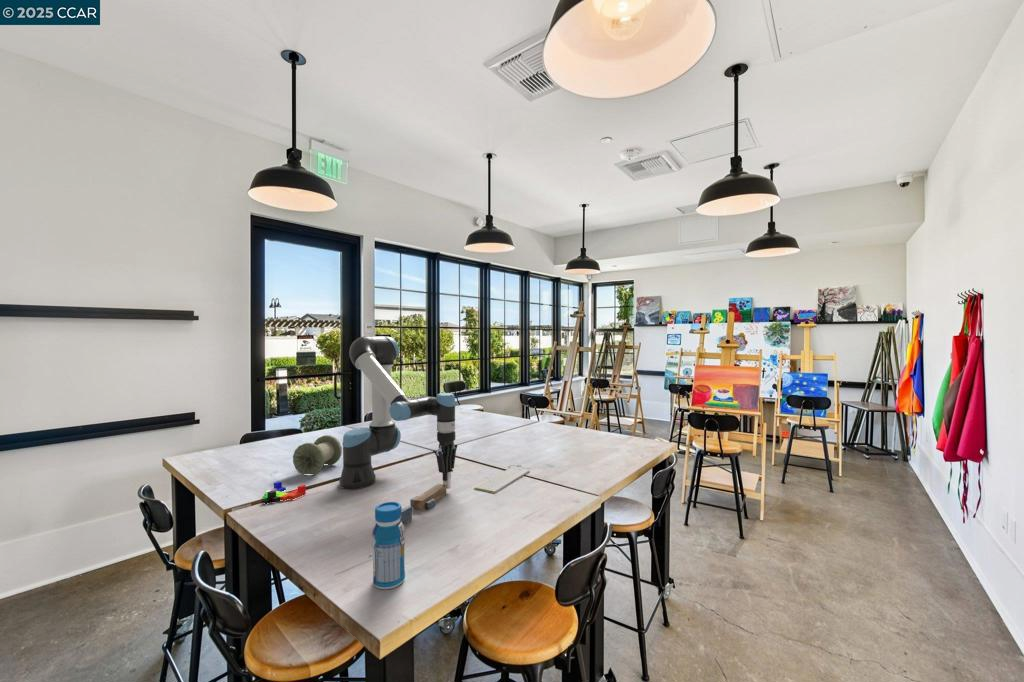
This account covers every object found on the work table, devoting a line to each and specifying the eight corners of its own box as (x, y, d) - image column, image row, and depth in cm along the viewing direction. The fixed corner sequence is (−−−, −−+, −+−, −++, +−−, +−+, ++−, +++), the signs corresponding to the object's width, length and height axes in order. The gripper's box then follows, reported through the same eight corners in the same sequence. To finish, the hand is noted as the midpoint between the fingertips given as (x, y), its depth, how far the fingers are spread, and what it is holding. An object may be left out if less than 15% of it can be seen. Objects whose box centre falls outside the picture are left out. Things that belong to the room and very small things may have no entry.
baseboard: (470, 489, 179) (494, 495, 173) (470, 482, 179) (494, 488, 173) (507, 469, 206) (529, 473, 200) (507, 463, 206) (529, 467, 200)
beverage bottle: (383, 595, 106) (382, 515, 106) (366, 582, 112) (365, 506, 112) (412, 580, 112) (411, 505, 112) (394, 568, 118) (393, 497, 118)
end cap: (377, 523, 146) (377, 510, 146) (393, 514, 154) (393, 502, 153) (396, 528, 143) (395, 515, 142) (412, 519, 150) (411, 506, 150)
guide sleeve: (410, 505, 162) (410, 499, 162) (417, 502, 165) (417, 495, 165) (428, 509, 158) (428, 503, 158) (434, 506, 161) (434, 499, 161)
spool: (314, 464, 215) (313, 434, 215) (341, 465, 213) (341, 435, 213) (293, 475, 199) (292, 443, 199) (322, 476, 197) (322, 444, 197)
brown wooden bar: (413, 510, 158) (412, 499, 158) (437, 493, 175) (437, 483, 175) (422, 511, 157) (422, 501, 157) (446, 494, 174) (446, 484, 174)
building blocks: (250, 502, 167) (250, 492, 167) (278, 491, 179) (278, 481, 179) (279, 507, 162) (279, 496, 162) (305, 495, 174) (305, 485, 174)
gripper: (444, 435, 167) (444, 494, 168) (462, 428, 179) (463, 484, 179) (429, 433, 171) (429, 491, 171) (448, 427, 182) (448, 481, 183)
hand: (446, 487), depth 175 cm, fingers closed
